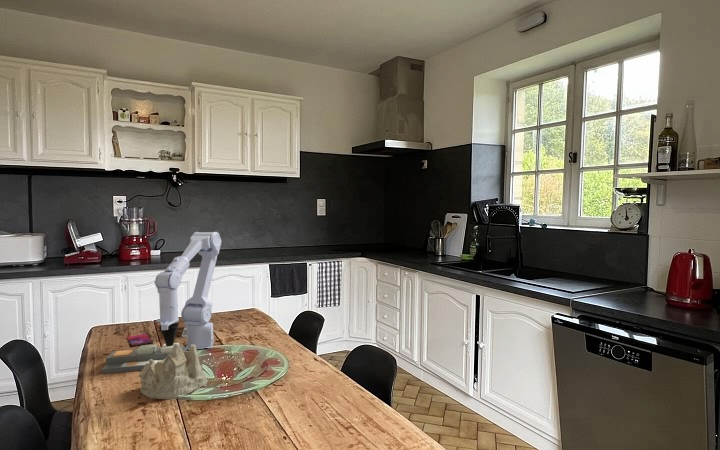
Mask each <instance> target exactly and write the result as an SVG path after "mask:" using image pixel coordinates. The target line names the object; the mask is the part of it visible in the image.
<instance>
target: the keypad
mask: <svg viewBox="0 0 720 450" xmlns="http://www.w3.org/2000/svg"><path fill="white" fill-rule="evenodd" d="M179 346H180V348H182V351H188V350H187V348H185V345H184V344H183V345H179ZM161 347H162V346H160V347H157V346H156V351H155V352H154V354H141V355H137V349H138V348H134V349H132V348H131V349H130V350H133V352H132V353H131V354H130V355H129V356H116V357H112V356H113V355H114V354H115V353H116V352H117V351H124V350H125V349H123V350H121V349H120V350H113V351H112V352H111V353H110V354H109V355H107V357H106V358H105V365H104V366H103V367H102V368H101V374H104V375H105V374H114V373H125V372H139V371H142V370H143V368H144V366H145V365H146V363H149V360H150V359H153V360H154V364H156V363H157V362H160V361H162V360H164V359H165V358H166V357H167V355H168V354H170V353H172V352H167V353H161Z"/></svg>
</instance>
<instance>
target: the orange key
mask: <svg viewBox="0 0 720 450" xmlns="http://www.w3.org/2000/svg"><path fill="white" fill-rule="evenodd" d="M123 350H124V351H118V350H116V351H117V352H116V353H115V354H114V355H113V356H112V357H116V356H129V355H130V354H131V353H132V352H133V350H131V349H123Z"/></svg>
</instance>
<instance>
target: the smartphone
mask: <svg viewBox="0 0 720 450" xmlns="http://www.w3.org/2000/svg"><path fill="white" fill-rule="evenodd" d="M126 338H127V339H126V341H127V340H128V341H127V342H128V343H130V344H129V345H130V347H131V348H136V347H140V346H142V345H154V341H153V340H152V339H151V337H149V335H148V334H146V333H144V334H138V335H131V336H126Z"/></svg>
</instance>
